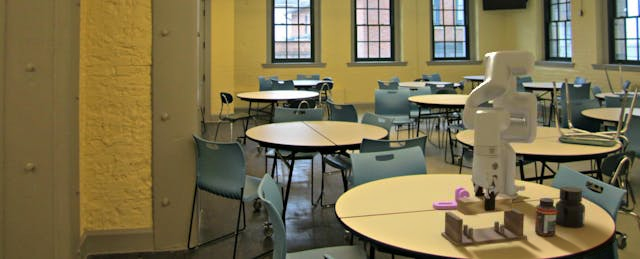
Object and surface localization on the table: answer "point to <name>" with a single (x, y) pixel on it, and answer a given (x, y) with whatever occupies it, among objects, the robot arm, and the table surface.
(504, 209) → the plank
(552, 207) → the supplement bottle
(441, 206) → the bracket
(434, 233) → the table surface
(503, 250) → the table surface
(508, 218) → the holder
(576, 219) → the ink bottle
